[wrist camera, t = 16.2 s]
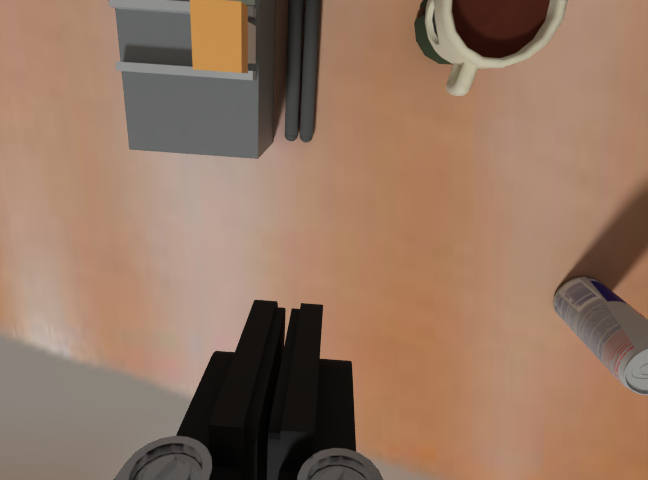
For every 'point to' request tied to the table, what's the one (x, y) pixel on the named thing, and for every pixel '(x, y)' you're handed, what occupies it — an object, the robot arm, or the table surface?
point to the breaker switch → (222, 36)
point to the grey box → (192, 83)
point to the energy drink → (607, 329)
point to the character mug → (484, 34)
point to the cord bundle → (295, 66)
